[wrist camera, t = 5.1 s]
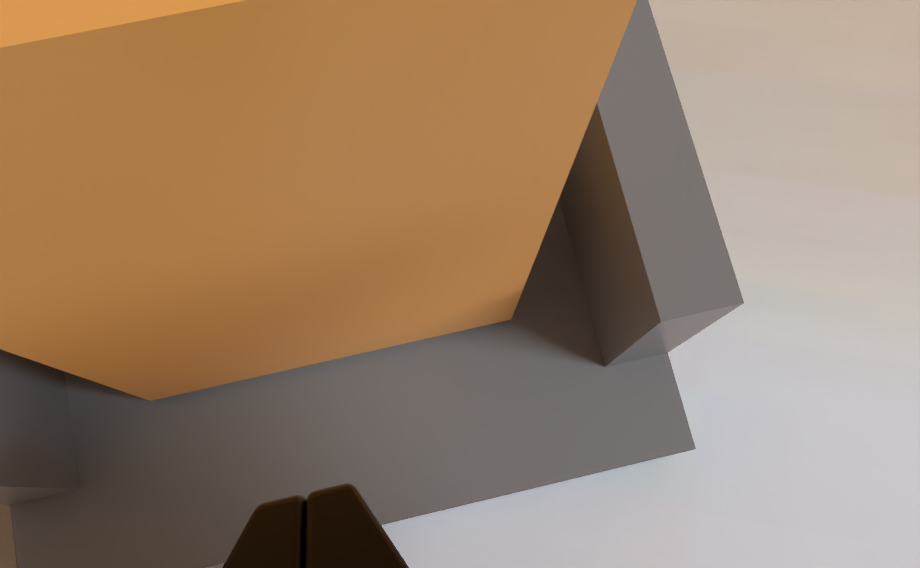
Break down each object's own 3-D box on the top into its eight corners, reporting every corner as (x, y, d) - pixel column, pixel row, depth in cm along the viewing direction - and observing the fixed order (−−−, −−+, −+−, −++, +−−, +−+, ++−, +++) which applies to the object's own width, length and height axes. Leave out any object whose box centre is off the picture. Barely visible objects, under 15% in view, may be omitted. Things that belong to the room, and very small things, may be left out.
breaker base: (669, 454, 15) (784, 431, 10) (65, 600, 14) (-136, 653, 9) (530, -38, 17) (566, -257, 12) (1, 65, 16) (-189, -124, 11)
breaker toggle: (511, 319, 13) (675, -94, 4) (150, 401, 13) (-584, 147, 4) (473, 169, 14) (541, -498, 5) (126, 242, 14) (-564, -326, 4)
